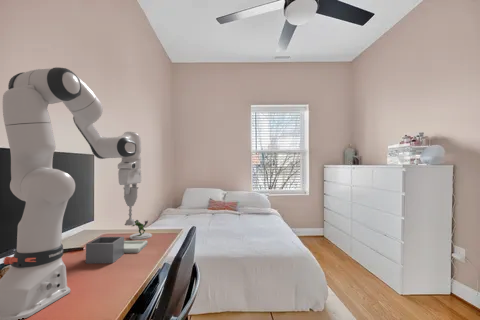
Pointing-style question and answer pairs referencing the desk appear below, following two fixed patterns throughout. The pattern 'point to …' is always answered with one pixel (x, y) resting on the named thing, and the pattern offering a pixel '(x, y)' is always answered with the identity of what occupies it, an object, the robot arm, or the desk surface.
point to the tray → (134, 246)
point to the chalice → (130, 203)
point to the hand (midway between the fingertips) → (130, 193)
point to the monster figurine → (140, 235)
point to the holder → (104, 250)
